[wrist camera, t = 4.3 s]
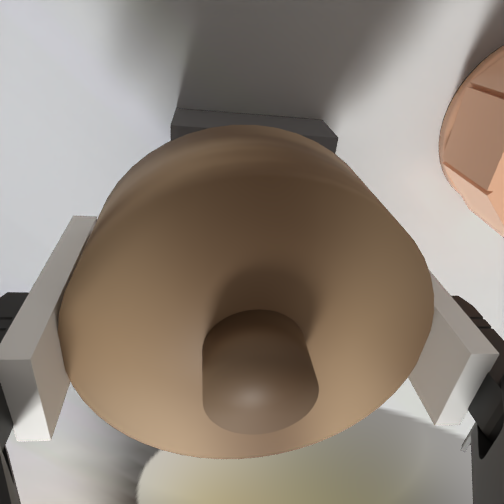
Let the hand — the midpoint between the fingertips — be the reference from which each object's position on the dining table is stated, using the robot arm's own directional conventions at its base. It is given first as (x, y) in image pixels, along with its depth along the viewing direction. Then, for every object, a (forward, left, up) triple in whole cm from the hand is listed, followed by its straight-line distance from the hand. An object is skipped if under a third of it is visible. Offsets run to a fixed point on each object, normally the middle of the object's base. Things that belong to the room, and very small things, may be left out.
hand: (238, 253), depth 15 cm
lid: (0, 0, +1) cm, 1 cm away
